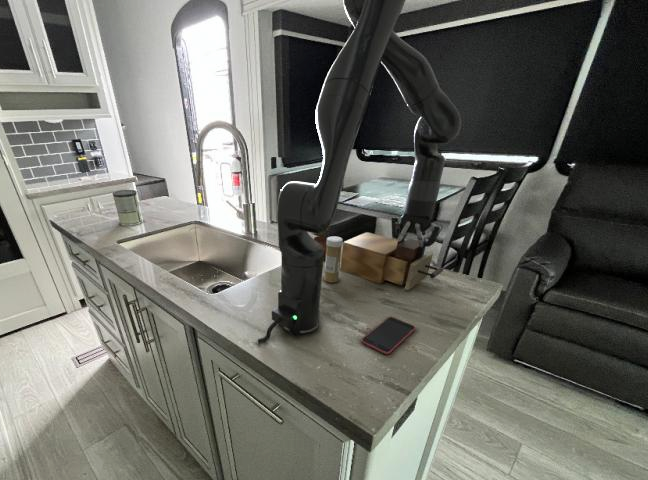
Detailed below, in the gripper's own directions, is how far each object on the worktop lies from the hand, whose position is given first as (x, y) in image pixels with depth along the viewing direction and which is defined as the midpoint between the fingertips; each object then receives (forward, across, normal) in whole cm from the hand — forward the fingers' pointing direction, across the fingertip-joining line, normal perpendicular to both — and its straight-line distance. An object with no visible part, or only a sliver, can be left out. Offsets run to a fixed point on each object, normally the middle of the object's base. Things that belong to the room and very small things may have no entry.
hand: (408, 255), depth 95 cm
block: (0, 0, 0) cm, 0 cm away
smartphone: (+8, -11, +29) cm, 32 cm away
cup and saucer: (+9, +30, +1) cm, 31 cm away
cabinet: (+8, +11, 0) cm, 14 cm away
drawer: (+8, 0, 0) cm, 8 cm away
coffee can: (+9, +120, +33) cm, 125 cm away
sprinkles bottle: (+9, +16, +15) cm, 24 cm away
